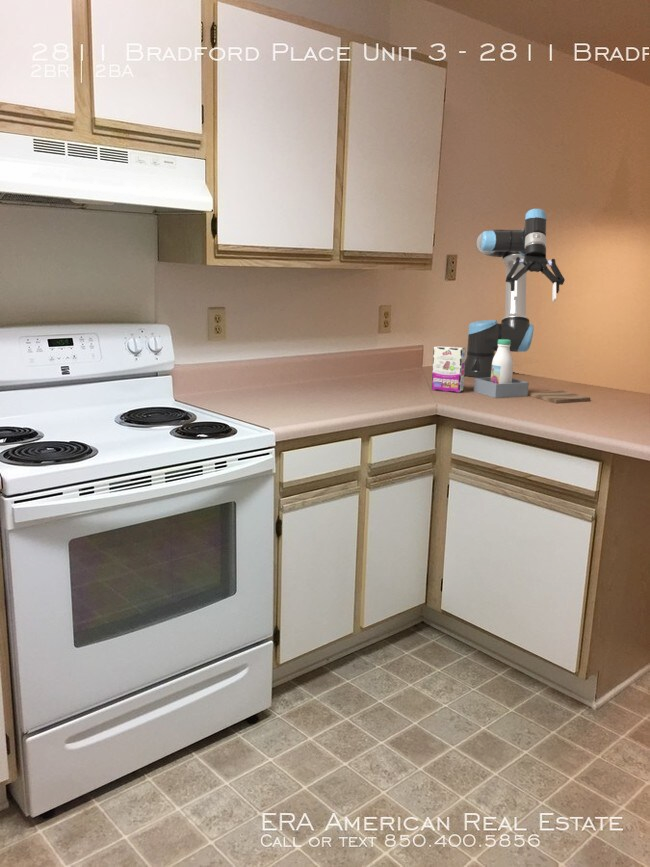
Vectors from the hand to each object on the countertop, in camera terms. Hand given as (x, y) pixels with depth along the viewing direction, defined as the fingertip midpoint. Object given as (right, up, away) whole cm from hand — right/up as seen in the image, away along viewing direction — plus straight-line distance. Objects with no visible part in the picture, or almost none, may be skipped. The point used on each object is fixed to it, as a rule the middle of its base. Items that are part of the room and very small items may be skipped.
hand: (534, 299), depth 257 cm
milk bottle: (-9, -33, +12) cm, 36 cm away
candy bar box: (-28, -32, +16) cm, 45 cm away
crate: (-9, -33, +12) cm, 36 cm away
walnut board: (+10, -35, +5) cm, 37 cm away
